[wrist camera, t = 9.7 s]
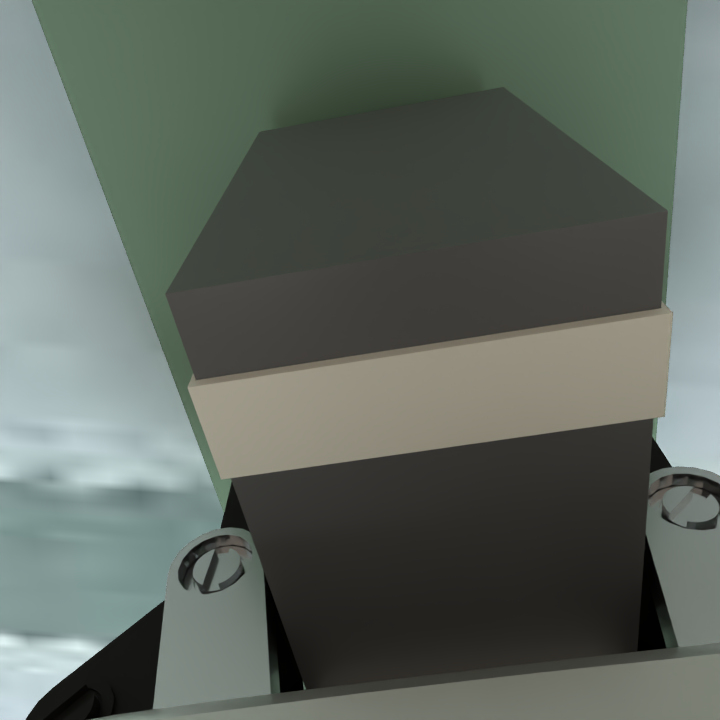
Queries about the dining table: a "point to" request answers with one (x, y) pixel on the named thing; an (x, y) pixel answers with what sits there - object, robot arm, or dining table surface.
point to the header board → (338, 97)
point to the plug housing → (434, 385)
